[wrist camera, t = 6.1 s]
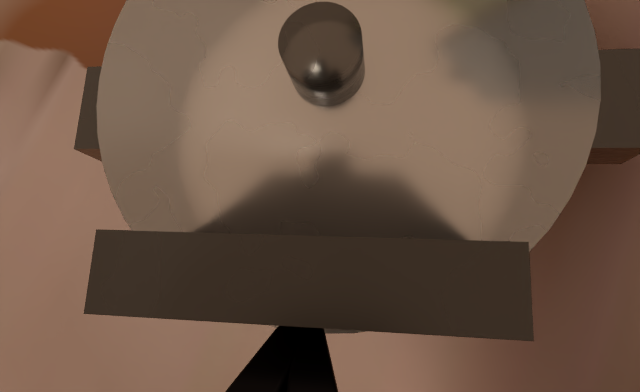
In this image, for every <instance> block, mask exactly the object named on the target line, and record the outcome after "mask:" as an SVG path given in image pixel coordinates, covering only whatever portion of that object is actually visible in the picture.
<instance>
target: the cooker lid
mask: <svg viewBox="0 0 640 392" xmlns="http://www.w3.org/2000/svg"><path fill="white" fill-rule="evenodd" d="M600 100H601V72H600V59H599V53H598V47H597V41H596V35H595V31H594V28H593V25H592V22H591V19H590V16H589V13H588V10H587V7H586V4H585V1H584V0H127V1H126V3H125V5H124V7H123V9H122V11H121V13H120V15H119V17H118V19H117V21H116V23H115V25H114V28H113V31H112V34H111V37H110V39H109V43H108V45H107V48H106V51H105V55H104V59H103V64H102V68H101V73H100V77H99V86H98V96H97V134H98V141H99V147H100V153H101V159H102V164H103V167H104V170H105V174H106V177H107V180H108V183H109V186H110V190H111V192H112V194H113V197H114V199H115V201H116V203H117V205H118V207H119V209H120V211H121V213H122V215H123V217H124V219H125V221H126V222H127V224H128V225H129V227H130V228H131V230H132V231H130V230H96V235H95V242H94V249H93V255H92V262H91V269H90V275H89V282H88V289H87V296H86V302H85V309H84V314H96V315H113V316H129V317H146V318H162V319H178V320H195V321H211V322H228V323H244V324H260V325H269V326H273V327H276V328H277V327H278V326H293V327H310V328H324V331H325V333H358V332H365V331H375V332H392V333H408V334H424V335H441V336H457V337H474V338H490V339H506V340H523V341H534V336H533V316H532V297H531V277H530V258H529V252H530V250H531V249H532V248H533V247H534V246H535V245H536V244H537V243H538V242H539V240H540V239H541V238H542V237H543V236H544V235H545V234H546V233H547V232H548V230H549V229H550V228H551V227H552V225H553V224H554V222H555V221H556V219H557V218H558V216H559V215H560V213H561V212H562V210H563V209H564V207H565V206H566V204H567V203H568V201H569V200H570V198H571V196H572V194H573V192H574V190H575V188H576V185H577V183H578V181H579V179H580V177H581V175H582V173H583V171H584V169H585V166H586V164H587V160H588V157H589V154H590V150H591V147H592V144H593V140H594V137H595V134H596V129H597V122H598V115H599V107H600Z"/></svg>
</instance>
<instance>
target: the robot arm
mask: <svg viewBox="0 0 640 392" xmlns="http://www.w3.org/2000/svg"><path fill="white" fill-rule="evenodd" d="M225 392H338V389H337V384H336V380H335V376H334V371H333V367H332V362H331V358H330V353H329V349H328V344H327V340H326V336H325V331H324V328H310V327H293V326H278V327H277V328H276V329H275V331H274V332H273V333H272V334H271V336H270V337H269V338H268V339H267V341H266V342H265V343H264V344H263V346H262V347H261V348H260V349H259V351H258V352H257V353H256V354H255V355H254V357H253V358H252V359H251V360H250V362H249V363H248V364H247V365H246V367H245V368H244V369H243V370H242V372H241V373H240V374H239V375H238V377H237V378H236V379H235V380H234V382H233V383H232V384H231V385H230V387H229V388H228V389H227V390H226V391H225Z"/></svg>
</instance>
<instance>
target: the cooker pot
mask: <svg viewBox="0 0 640 392" xmlns="http://www.w3.org/2000/svg"><path fill="white" fill-rule="evenodd" d="M598 53H599V59H600V72H601V100H600V107H599V115H598V122H597V129H596V134H595V137H594V140H593V144H592V147H591V150H590V154H589V157H588V160H587V164H622V163H623V162H625V161H627V160H629V159H631V158H633V157H635V156H637V155H639V154H640V49H613V50H598ZM101 68H102V67H88V68H87V74H86V80H85V86H84V92H83V98H82V104H81V110H80V116H79V122H78V128H77V134H76V140H75V146H74V149H75V150H78V151H80V152H82V153H84V154H86V155H89V156H91V157H93V158H95V159H98V160H100V161H102V159H101V153H100V147H99V141H98V134H97V96H98V86H99V77H100V73H101Z"/></svg>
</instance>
